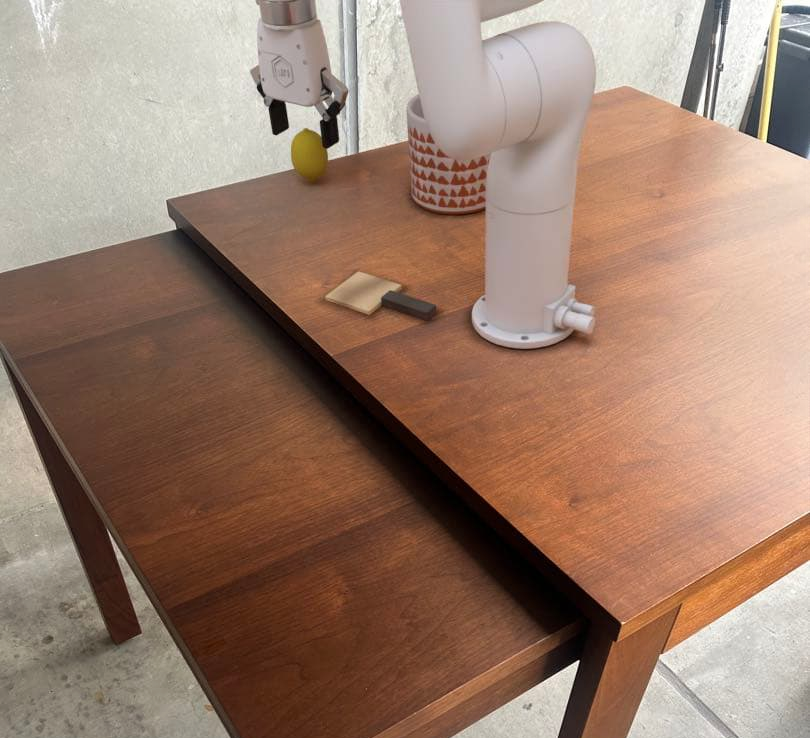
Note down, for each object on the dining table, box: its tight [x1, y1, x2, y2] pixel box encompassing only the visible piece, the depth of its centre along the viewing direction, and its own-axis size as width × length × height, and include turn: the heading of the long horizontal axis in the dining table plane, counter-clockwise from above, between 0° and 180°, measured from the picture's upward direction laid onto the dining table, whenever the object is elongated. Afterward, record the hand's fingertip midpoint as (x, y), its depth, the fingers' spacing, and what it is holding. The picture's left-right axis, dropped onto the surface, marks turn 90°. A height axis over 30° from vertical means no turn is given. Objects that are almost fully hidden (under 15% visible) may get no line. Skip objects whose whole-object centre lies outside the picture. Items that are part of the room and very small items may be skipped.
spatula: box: [324, 270, 437, 322], centre depth 108 cm, size 14×7×1 cm, turn 55°
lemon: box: [290, 127, 329, 183], centre depth 130 cm, size 6×6×8 cm
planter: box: [406, 93, 491, 215], centre depth 123 cm, size 14×14×13 cm
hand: (305, 138), depth 129 cm, fingers open, 9 cm apart
